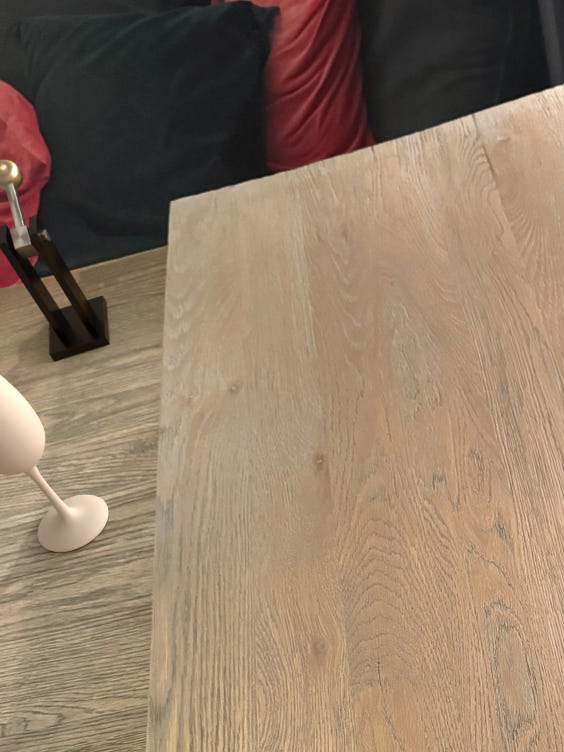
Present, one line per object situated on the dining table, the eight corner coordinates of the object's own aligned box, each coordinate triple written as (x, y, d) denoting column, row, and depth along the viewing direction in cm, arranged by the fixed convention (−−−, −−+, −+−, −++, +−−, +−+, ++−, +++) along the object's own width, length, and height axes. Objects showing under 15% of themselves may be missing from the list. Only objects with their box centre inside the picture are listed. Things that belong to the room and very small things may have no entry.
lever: (-2, 176, 124) (-17, 158, 121) (24, 168, 124) (10, 149, 121) (21, 263, 122) (6, 247, 118) (48, 255, 122) (34, 239, 119)
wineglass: (24, 536, 111) (-94, 402, 94) (77, 486, 114) (-28, 348, 97) (70, 563, 108) (-44, 429, 90) (123, 511, 111) (23, 372, 93)
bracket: (53, 318, 135) (-13, 218, 122) (106, 302, 135) (47, 199, 122) (53, 361, 129) (-15, 261, 116) (109, 344, 129) (47, 241, 116)
